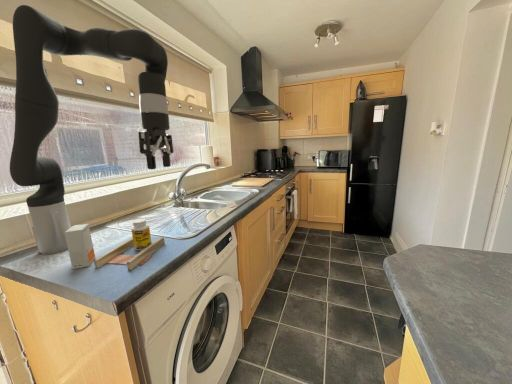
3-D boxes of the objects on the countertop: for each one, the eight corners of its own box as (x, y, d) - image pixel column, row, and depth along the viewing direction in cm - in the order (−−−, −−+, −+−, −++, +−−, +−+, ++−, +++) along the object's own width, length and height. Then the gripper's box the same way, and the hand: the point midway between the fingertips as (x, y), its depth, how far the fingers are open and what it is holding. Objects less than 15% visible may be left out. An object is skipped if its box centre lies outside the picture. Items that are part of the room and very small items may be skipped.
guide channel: (91, 267, 63) (89, 260, 62) (131, 242, 79) (130, 236, 79) (135, 270, 61) (134, 262, 60) (168, 243, 77) (167, 237, 77)
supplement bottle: (135, 252, 71) (130, 224, 69) (134, 246, 76) (129, 220, 73) (153, 248, 74) (149, 221, 72) (151, 242, 79) (147, 217, 76)
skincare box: (89, 266, 64) (81, 229, 61) (72, 269, 62) (63, 232, 59) (96, 257, 69) (88, 223, 67) (80, 260, 68) (72, 225, 65)
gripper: (156, 116, 68) (160, 166, 72) (125, 108, 54) (133, 169, 58) (177, 116, 68) (181, 166, 71) (152, 107, 54) (158, 170, 57)
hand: (159, 167), depth 64 cm, fingers open, 8 cm apart
